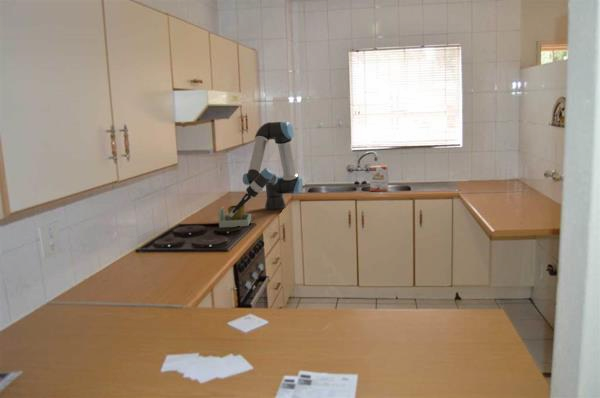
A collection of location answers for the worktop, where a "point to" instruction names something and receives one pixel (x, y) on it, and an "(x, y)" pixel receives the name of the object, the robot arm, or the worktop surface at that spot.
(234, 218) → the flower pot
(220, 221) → the pale green open box
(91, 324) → the worktop surface
